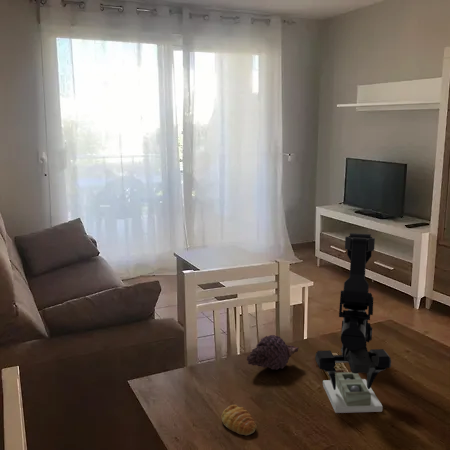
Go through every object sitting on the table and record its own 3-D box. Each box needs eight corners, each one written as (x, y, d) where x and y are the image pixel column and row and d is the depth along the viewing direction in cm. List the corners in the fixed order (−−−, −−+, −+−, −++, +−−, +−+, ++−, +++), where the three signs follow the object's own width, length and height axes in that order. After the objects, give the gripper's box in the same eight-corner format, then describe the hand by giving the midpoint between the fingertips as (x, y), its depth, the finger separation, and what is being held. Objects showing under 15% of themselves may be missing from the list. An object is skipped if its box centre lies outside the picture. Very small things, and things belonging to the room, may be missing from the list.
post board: (322, 385, 145) (323, 368, 144) (365, 384, 146) (366, 367, 145) (335, 412, 131) (336, 394, 130) (382, 411, 132) (383, 393, 131)
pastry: (263, 430, 124) (263, 416, 124) (241, 441, 120) (241, 426, 120) (239, 413, 132) (239, 399, 131) (217, 422, 128) (217, 408, 127)
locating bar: (370, 405, 132) (371, 394, 131) (347, 406, 132) (347, 395, 131) (356, 382, 144) (357, 372, 143) (335, 382, 143) (335, 372, 143)
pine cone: (255, 382, 147) (255, 349, 145) (237, 368, 155) (237, 337, 153) (305, 367, 155) (306, 336, 153) (285, 355, 164) (286, 325, 162)
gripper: (325, 348, 127) (323, 406, 130) (400, 346, 128) (396, 404, 131) (315, 329, 138) (314, 383, 141) (385, 328, 138) (381, 382, 142)
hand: (351, 388), depth 138 cm, fingers open, 9 cm apart
